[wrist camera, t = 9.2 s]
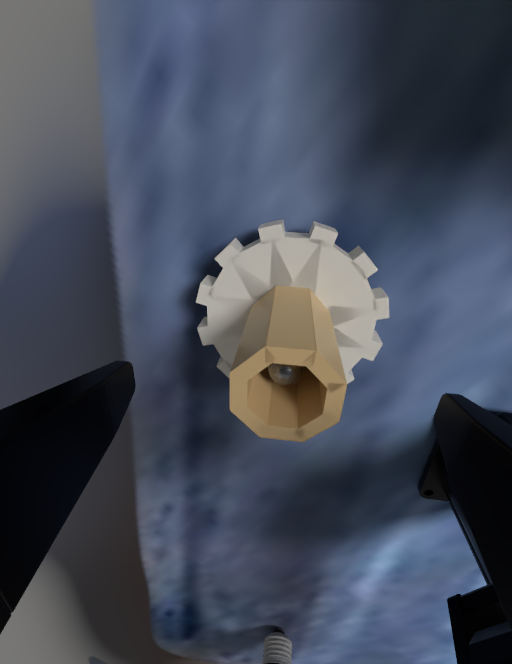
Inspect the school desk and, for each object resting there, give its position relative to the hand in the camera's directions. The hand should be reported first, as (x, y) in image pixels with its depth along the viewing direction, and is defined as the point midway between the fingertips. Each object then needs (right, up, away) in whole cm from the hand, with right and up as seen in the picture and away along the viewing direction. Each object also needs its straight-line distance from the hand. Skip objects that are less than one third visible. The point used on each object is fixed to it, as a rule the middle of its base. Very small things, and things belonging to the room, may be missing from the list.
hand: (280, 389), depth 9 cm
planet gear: (+1, +3, +5) cm, 6 cm away
